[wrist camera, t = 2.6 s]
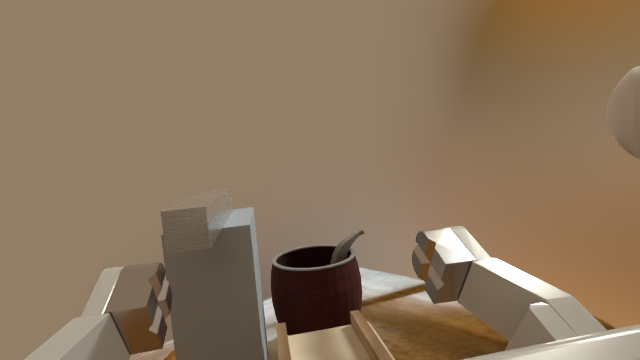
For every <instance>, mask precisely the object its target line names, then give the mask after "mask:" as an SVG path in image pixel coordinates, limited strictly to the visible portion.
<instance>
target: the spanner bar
mask: <svg viewBox="0 0 640 360" xmlns="http://www.w3.org/2000/svg"><path fill="white" fill-rule="evenodd" d="M232 213H233V203H232V194H231V188H228V189H219V190H210V191H205V192H203V193H201V194H198V195H196V196H194V197H192V198H189V199H187V200H185V201H183V202H181V203H179V204H176V205H174V206H172V207H170V208H167V209H165V210H163V211H161V219H162V228H163V236H164V245H165V253H166V254H171V253H179V252H187V251H195V250H203V249H210V248H211V247H212V245H213V244H214V242H215V240H216V239H217V237H218V235H219V234H220V232H221V231H222V229H223V227H224V226H225V224H226V222H227V221H228V219H229V218H230V216H231V214H232Z"/></svg>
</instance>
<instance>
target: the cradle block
mask: <svg viewBox="0 0 640 360" xmlns="http://www.w3.org/2000/svg"><path fill="white" fill-rule="evenodd" d="M350 318H351V325H347V326H341V327H336V328H330V329H324V330H319V331H313V332H307V333H302V334H296V335H290V336H287V329H286V323H285V322H284V323H278V324H276V331H277V338H273V339H268V360H395V359H394V357H393V356H392V354H391V353H390V352H389V350H388V349H387V347H386V346H385V344H384V343H383V341H382V340H381V339H380V337H379V336H378V334H377V333H376V331H375V330H374V329H373V327H372V326H371V324H370V323H369V322H367V321H366V320H365V318H364V317H363V315H362V314H361V312H360V311H359V310H355V311H350Z"/></svg>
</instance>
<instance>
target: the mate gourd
mask: <svg viewBox="0 0 640 360" xmlns="http://www.w3.org/2000/svg"><path fill="white" fill-rule="evenodd" d="M362 234H364V232H363V230H362V229H361V230H359V231H357V232H355V233H353V234H351V235H350V236H348V237H347V238H345V239H344V240H343V241H341V242H340V243H339V244H338V245H311V246H304V247H299V248H294V249H290V250H287V251H284V252H282V253H279V254H278V255H276V256H275V257H274V258H273V259H272V263H273V264H272V271H271V292H272V302H273V307H274V310H275V314H276V318H277V321H278V323H284V322H285V323H286V329H287V335H288V336H290V335H296V334H302V333H307V332H313V331H319V330H324V329H330V328H336V327H341V326H347V325H351V318H350V311H355V310H359V311H360V310H361V302H362V285H361V276H360V271H359V267H358V263H357V260H356V257H355V252H354V250H353V249H351V248H350V247H351V245H352V243H353V242H354V241H355V239H356V238H357V237H358V236H360V235H362Z"/></svg>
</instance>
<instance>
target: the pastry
mask: <svg viewBox="0 0 640 360" xmlns="http://www.w3.org/2000/svg"><path fill="white" fill-rule="evenodd" d="M164 360H176V356H175V351H173V352H171V353H170V354H169V355H168V356H167V357H166V358H165V359H164Z"/></svg>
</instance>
